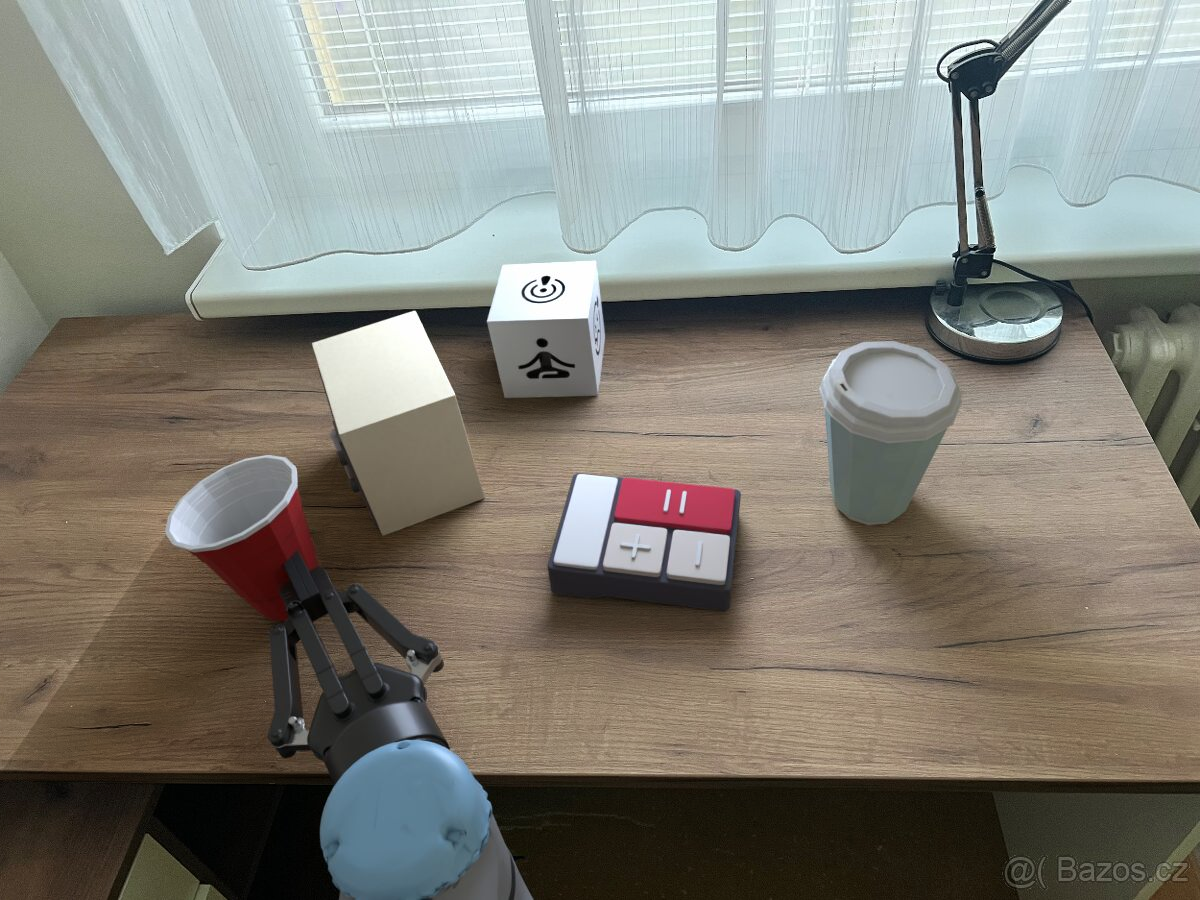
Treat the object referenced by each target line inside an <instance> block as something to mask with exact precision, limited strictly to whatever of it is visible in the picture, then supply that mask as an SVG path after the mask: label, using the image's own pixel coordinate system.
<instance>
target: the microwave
mask: <svg viewBox="0 0 1200 900" xmlns="http://www.w3.org/2000/svg"><path fill="white" fill-rule="evenodd" d="M311 346H312V350H313V352H314V356H315V358H316V363H317V366H318V368H317V370H318V373H319V377H320V381H321V383H322V386H323V390H324V394H325V397H326V400H327V403H328V406H329V409H330V413H331V417H332V425H333V428H334V429H331V431H330V432H329V436H330V439H331V441H332V443H333V446H334V448H335V450H336V455H337V458H338V461H339V463H340V465H341V467H343V468H344V471H345V472H346V475H347V477H348V482H349V484H350V487H351V491H352V492H353V494H359V493H360V495H361V498H362V500H363V502H364V503H365V507H366V509H367V511H368V514H369V516H370V518H371V520H372V522H373V525H374V527H375V528H376V529H377V528H378V529H379V532H380V533H381V536H383V537H384V536H386V535H389V534H392V533H395V532H398V531H400V530H402V529H405V528H408V527H411V526H414V525H416V524H418V523H423V522H425V521H427V520H429V519H430V520H431V519H433V518H435V517H437V516H440V515H443V514H445V513H448V512H451V511H455V510H456V509H459V508H461V507H464V506H467V505H470V504H473V503H476V502H478V501H481V500H484V499H485V494H484V490H483V486H482V483H481V480H480V476H479V473H478V469H477V465H476V462H475V460H474V455H473V452H472V448H471V445H470V444H471V443H470V441H469V437H468V434H467V430H466V428H465V427H466V426H465V424H464V420H463V417H462V414H461V410H460V406H459V403H458V399H457V396H456V394H455V391H454V389H453V387H452V385H451V383H450V381H449V379H448V377H447V374H446V372H445V370H444V368H443V366H442V363H441V362H440V359H439V357H438V356H437V353H436V352H435V349H434V347H433V345H432V343H431V341H430V338H429V337H428V334H427V332H426V329H425V328H424V326H423V323H422V322H421V320H420V317H419V315H418V313H417V311H416V310H412V311H409V312H405V313H403V314H400V315H397V316H393V317H390V318H387V319H383V320H380V321H378V322H374V323H371V324H368V325H365V326H361V327H359V328H356V329H352V330H349V331H346V332H343V333H339V334H336V335H333V336H330V337H327V338H324V339H320V340H318V341H314V342H312V343H311Z"/></svg>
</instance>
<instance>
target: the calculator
mask: <svg viewBox="0 0 1200 900" xmlns="http://www.w3.org/2000/svg"><path fill="white" fill-rule="evenodd" d="M741 493H742V492H741V491H740V490H739V489H736V488H730V487H722V486H712V485H702V484H693V483H683V482H675V481H664V480H653V479H645V478H635V477H620V476H611V475H603V474H602V475H601V474H593V473H582V472H576V473H574V474H573V475H572V478H571V482H570V485H569V488H568V492H567V495H566V500H565V503H564V506H563V510H562V513H561V517H560V520H559V524H558V527H557V531H556V534H555V538H554V541H553V544H552V547H551V552H550V555H549V559H548V563H547V573H548V580H549V585H550V591H551V593H553V594H554V595H560V596H561V595H562V596H568V597H577V598H584V599H590V600H591V599H592V600H594V599H597V598H602V597H607V598H615V599H622V600H623V599H625V600H631V601H632V600H633V601H639V602H646V603H647V602H649V603H654V604H662V605H671V606H678V607H688V608H694V609H701V610H702V609H703V610H710V611H718V612H727V611H728V610H729V609H730V605H731V599H732V586H733V577H734V567H735V558H736V557H735V556H736V547H737V537H738V529H739V518H740V510H741V509H740V508H741V496H742V494H741Z"/></svg>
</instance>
